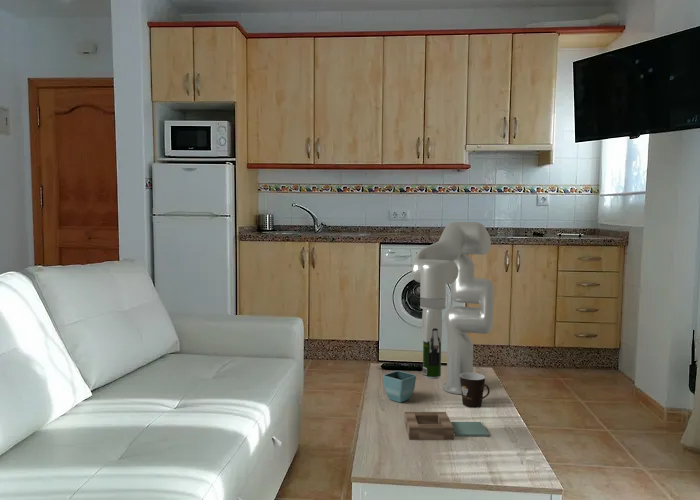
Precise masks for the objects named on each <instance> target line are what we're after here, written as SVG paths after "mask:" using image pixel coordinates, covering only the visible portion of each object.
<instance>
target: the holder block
mask: <svg viewBox="0 0 700 500" xmlns="http://www.w3.org/2000/svg"><path fill="white" fill-rule="evenodd" d="M403 420H404V422H403V423H404V426H405V429H406V432H407V437H408V439H409V440H410V441H411V440H413V441H414V440H417V441H418V440H419V441H421V440H425V441H433V440H435V441H437V440H438V441H441V440H442V441H449V440H452V441H454V439H455V434H454V427H453V425H452V423H451V422H452V421H451V420H450V418H449V415H448V414H447V412H446V411H404V419H403Z"/></svg>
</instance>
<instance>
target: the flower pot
mask: <svg viewBox="0 0 700 500" xmlns="http://www.w3.org/2000/svg"><path fill="white" fill-rule="evenodd" d="M382 379H383V387H384V392H385V394H386V396H387V398H388V399H389V400H390V401H393V402H397V403H403V402H406V401H408V400H409V399H410V398H411V397H412V395H413V393H414V390H415V388H416V387H415V386H416V381H417V375H416V374H412V373H409V372H405V371H401V370H395V371H392V372H389V373H385V374H383V375H382Z"/></svg>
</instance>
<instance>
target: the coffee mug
mask: <svg viewBox="0 0 700 500" xmlns="http://www.w3.org/2000/svg"><path fill="white" fill-rule="evenodd" d="M460 382H461V392H462V394H461V398H462V399H461V400H462V405H463V406H464V407H467V408H473V409H474V408H477V407H478V408H480V406H481V407H482V404H483V399H485V398H487V397H488V396H489V395H490V387H489V386H488V384H486V383H485V382H486V376H485V375H483V374H481V373H476V372H473V373H463V374H460ZM485 388H486V390H487V393H486V394H485V395H484V390H485Z"/></svg>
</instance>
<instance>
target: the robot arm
mask: <svg viewBox="0 0 700 500" xmlns="http://www.w3.org/2000/svg"><path fill="white" fill-rule="evenodd" d="M491 247H492V239H491V235H490V233H489V232H488V230H487V228H486V227H485V226H484V225H483V224H482V223H481V222H476V221H475V222H474V221H457V222H456V221H455V222H454V221H453V222H450V223H447V225H446V226H445V227H444V228H443V231H442V233H441V235H440V237H439V238H438V241H436V242H434V243H432V244H430V245H428V246H426V247H424V248H422V249H420V251H419V252H418V253H417V254H416V256H415V258H414V260H413V263H412V265H411V276H412V278H413V280H414V281H415V282H416V283H419V284H420V285H419V286H420V289H419V291H420V296H419V297H420V299H419V302H420V303H419V304H420V305H419V308H420V309H422V314H421V315H422V316H421V317H422V318H421V319H422V320H421V339H423V340H424V341H425V342H426V343H427V342H429V352H428V365H429V366H439V343H440V342H441V343H442V339H443V337H442V336H443V314H442V313H443V310H445V309H446V298H447V297H446V291H447V290H446V288H447V286H446V285H450V297H451V300H452V301H454V302H456V303H462V304H475V305H479V306H480V307H471V306H461V305H460V306H459V305H456V306H452V307H449V308H448V309H447V310H446V313H445V327H446V333H447V334H446V335H447V341H446V342H447V345H446V346H447V348H446V349H447V353H446V382H445V383H443V384H442V389H443V391H445V392H448V393H450V394H455V395H462V392H461V382H460V374H463V373H474V365H473V364H474V343H473V340H472V338H471V337H470V335H469V333H470V334H482V335H487V334H490V333H491V332H492V330H493V327H494V310H495V288H494V284H493V282H492V281H491V280H490V279H487V278H478V277H477V278H476V277H475V264H474V261H473V260H472V259H471V257H470V256H469V255H477V256H478V255H479V256H482V255H483V256H484V255H486V254H488V253H489V252H490V250H491ZM439 338H440V339H439ZM423 340H422V341H423ZM431 340H433V342H431ZM431 344H433V345H432V346H431ZM431 347H432V348H431Z"/></svg>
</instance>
